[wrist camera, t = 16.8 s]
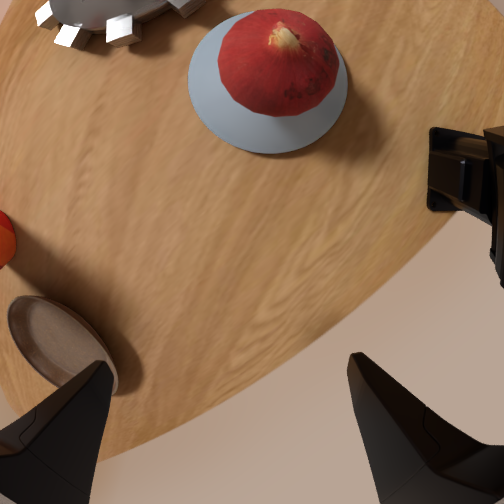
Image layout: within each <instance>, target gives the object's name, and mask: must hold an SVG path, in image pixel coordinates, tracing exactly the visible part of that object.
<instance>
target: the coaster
mask: <svg viewBox="0 0 504 504" xmlns="http://www.w3.org/2000/svg"><path fill="white" fill-rule="evenodd" d="M253 12H255V11H252V12H247V13H243V14H240V15H237V16H234V17H231V18H229V19H227V20H225V21H223V22H222V23H220V24H219V25H217V26H216V27H215V28H213V29H212V30H211V31H210V32H209V33H208V34H207V35H206V36H205V37H204V38H203V39H202V41H201V42H200V44H199V45H198V47H197V48H196V50H195V52H194V54H193V56H192V59H191V63H190V66H189V72H188V88H189V95H190V98H191V101H192V104H193V106H194V109H195V111H196V113H197V114H198V116H199V117H200V119H201V120H202V122H203V123H204V124H205V125H206V126H207V127H208V129H210V130H211V131H212V132H213V133H214V134H215V135H216V136H218V137H219V138H221V139H222V140H224V141H225V142H227V143H229V144H231V145H233V146H235V147H238V148H241V149H243V150H247V151H251V152H257V153H271V154H275V153H284V152H289V151H293V150H297V149H300V148H302V147H305V146H307V145H309V144H311V143H313V142H314V141H316V140H317V139H319V138H320V137H322V136H323V135H324V134H325V133H326V132H327V131H328V130H329V129H330V128H331V127H332V126H333V125H334V123H335V122H336V121H337V119H338V117H339V116H340V114H341V112H342V109H343V107H344V104H345V101H346V97H347V89H348V81H347V73H346V68H345V65H344V61H343V59H342V57H341V55H340V53H339V51H338V49H337V48H336V46H335V45H334V46H335V49H336V52H337V55H338V58H339V63H340V65H339V70H338V74H337V78H336V82H335V86H334V88H333V89H332V90H331V91H330V92H329V94H328V95H327V96H326V97H325V98H324V99H323V100H322V102H321V103H320V104H319V105H318V106H317V107H314V108H312V109H310V110H308V111H306V112H304V113H302V114H299V115H297V116H284V117H272V116H268V115H263V114H258V113H254V112H252V111H250V110H249V109H247V108H245V107H244V106H242V105H241V104H239V103H237V102H236V101H234V100H233V99H232V97H231V96H230V94H229V93H228V91H227V90H226V88H225V87H224V85H223V84H222V82H221V79H220V74H219V68H218V63H217V59H218V55H219V51H220V48H221V44H222V40H223V37H224V36H225V35H226V34H227V32H228V31H229V30H230V29H231V27H232V26H233V25H234V24H235V22H237V21H238V20H240V19H242V18H244V17H246V16H247V15H249V14H251V13H253Z"/></svg>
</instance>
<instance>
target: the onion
mask: <svg viewBox="0 0 504 504" xmlns="http://www.w3.org/2000/svg"><path fill="white" fill-rule="evenodd" d="M217 63H218V68H219V74H220V79H221V82H222V84H223V85H224V87H225V88H226V90H227V91H228V93H229V94H230V96H231V97H232V99H233V100H234V101H236V102H237V103H239V104H241V105H242V106H244V107H245V108H247V109H249V110H250V111H252V112H254V113H258V114H263V115H268V116H272V117H284V116H297V115H299V114H302V113H304V112H306V111H308V110H310V109H312V108H314V107H317V106H318V105H319V104H320V103H321V102H322V100H323V99H324V98H325V97H326V96H327V95H328V94H329V92H330V91H331V90H332V89H333V88H334V86H335V82H336V78H337V74H338V70H339V65H340V63H339V58H338V55H337V52H336V49H335V46H334V43H333V40H332V39H331V38H330V37H329V35H328V34H327V33H326V32H325V31H324V29H323V28H322V27H321V26H320V25H319V24H318V23H317V22H316V21H314V20H312V19H311V18H309V17H307V16H306V15H304V14H302V13H300V12H296V11H291V10H285V9H266V10H257V11H255V12H253V13H251V14H249V15H247V16H246V17H244V18H242V19H240V20H238V21H237V22H235V24H234V25H233V26H232V27H231V29H230V30H229V31H228V32H227V34H226V35H225V36H224V37H223V40H222V44H221V48H220V51H219V55H218V59H217Z"/></svg>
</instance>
